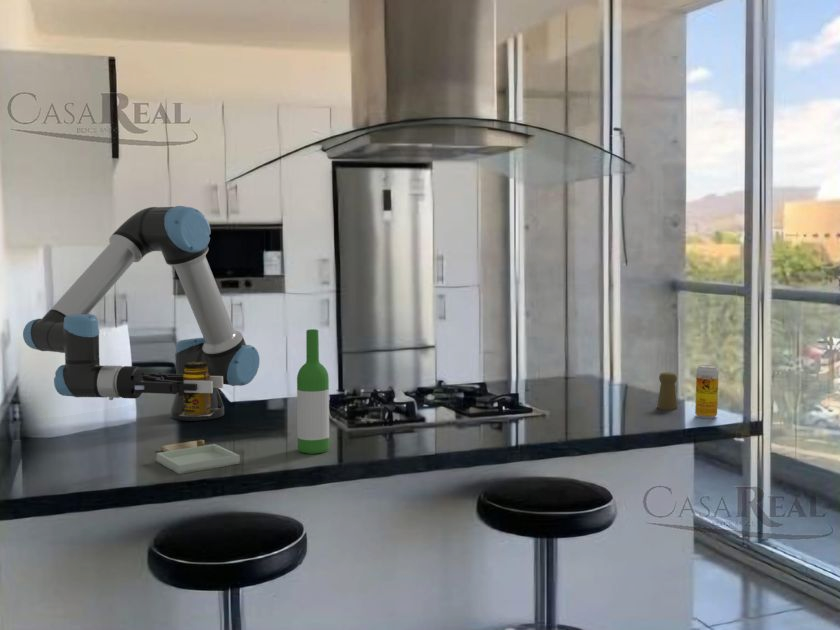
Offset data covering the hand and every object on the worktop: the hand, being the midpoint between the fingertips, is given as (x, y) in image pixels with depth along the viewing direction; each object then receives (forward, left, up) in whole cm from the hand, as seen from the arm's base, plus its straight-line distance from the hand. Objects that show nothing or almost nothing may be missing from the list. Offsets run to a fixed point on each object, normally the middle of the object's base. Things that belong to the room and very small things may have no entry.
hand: (217, 384), depth 195 cm
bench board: (+2, -16, -19) cm, 25 cm away
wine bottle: (-23, +3, -19) cm, 30 cm away
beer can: (-135, +39, -19) cm, 142 cm away
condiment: (+3, -4, -7) cm, 9 cm away
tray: (+4, -4, -19) cm, 19 cm away
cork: (-137, +24, -19) cm, 141 cm away
